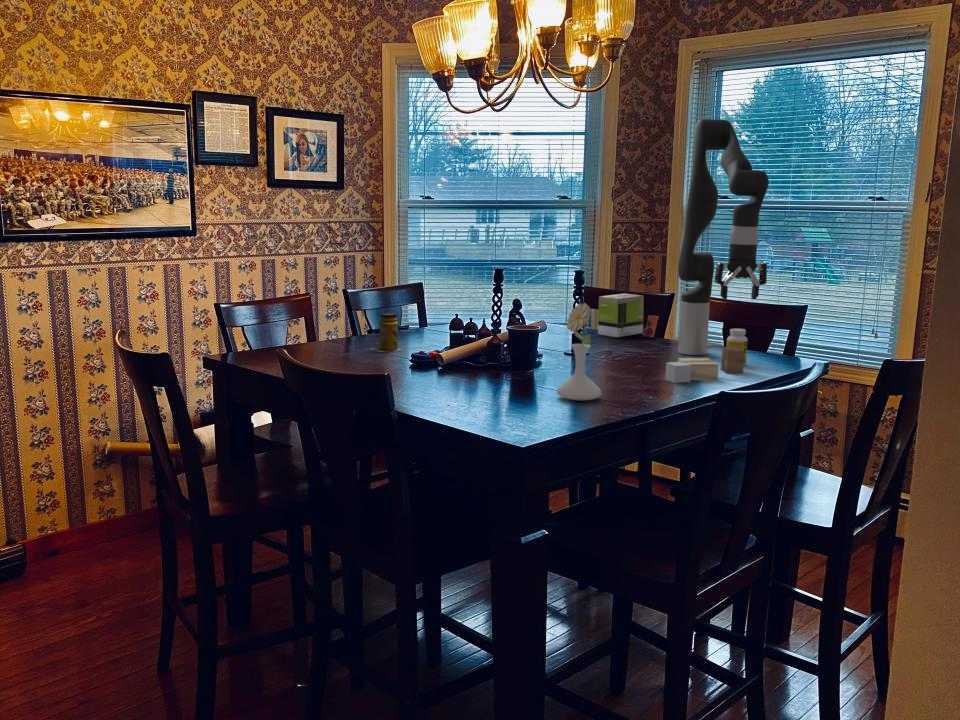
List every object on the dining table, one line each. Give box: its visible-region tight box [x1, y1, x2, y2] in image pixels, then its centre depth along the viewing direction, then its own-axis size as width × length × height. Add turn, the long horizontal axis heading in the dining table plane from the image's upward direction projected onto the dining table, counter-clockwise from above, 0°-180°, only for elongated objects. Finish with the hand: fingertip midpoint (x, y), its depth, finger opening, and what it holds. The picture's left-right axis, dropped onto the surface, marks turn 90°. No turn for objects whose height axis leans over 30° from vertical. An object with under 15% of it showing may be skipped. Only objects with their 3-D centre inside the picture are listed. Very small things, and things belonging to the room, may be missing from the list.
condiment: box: [369, 312, 403, 353], centre depth 278 cm, size 7×8×12 cm
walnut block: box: [720, 346, 745, 375], centre depth 250 cm, size 5×5×7 cm
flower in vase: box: [556, 302, 603, 402], centre depth 211 cm, size 13×11×25 cm
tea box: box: [597, 293, 645, 338], centre depth 316 cm, size 15×10×15 cm
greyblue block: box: [664, 361, 691, 384], centre depth 236 cm, size 5×5×5 cm
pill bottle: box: [726, 328, 748, 367], centre depth 260 cm, size 6×6×11 cm
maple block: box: [677, 357, 719, 381], centre depth 241 cm, size 9×9×5 cm
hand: (738, 298), depth 241 cm, fingers open, 8 cm apart
